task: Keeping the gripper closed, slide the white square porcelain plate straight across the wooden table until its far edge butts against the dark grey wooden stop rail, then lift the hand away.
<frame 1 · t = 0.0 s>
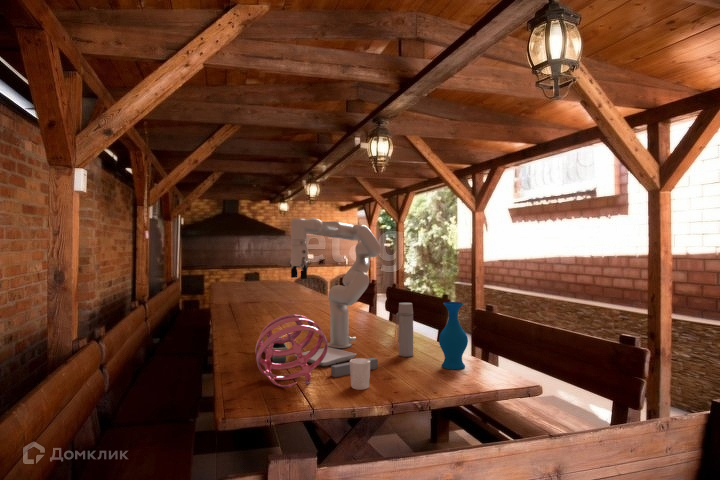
hand: (298, 278, 232), 37 cm above the table, tool pointing down, fingers open, 9 cm apart
spiral basket: (291, 382, 185), on the table
salad plate: (325, 361, 218), on the table
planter: (276, 357, 225), on the table
white cup: (360, 387, 179), on the table
water bottle: (404, 355, 226), on the table
vase: (453, 367, 206), on the table
stop rail: (354, 371, 199), on the table
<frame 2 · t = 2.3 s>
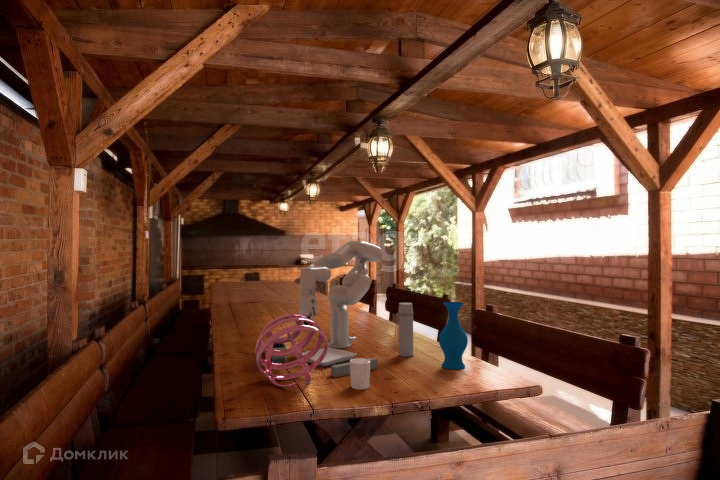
hand: (307, 329, 230), 12 cm above the table, tool pointing down, fingers closed
nothing on the table moved.
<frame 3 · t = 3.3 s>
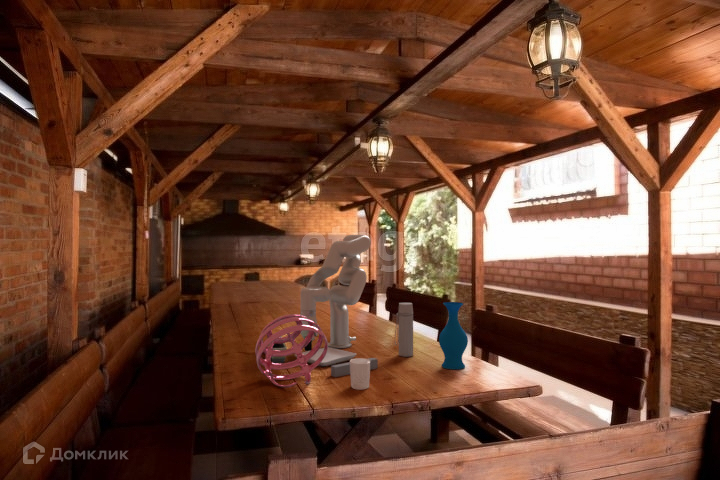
hand: (308, 350, 231), 1 cm above the table, tool pointing down, fingers closed
nothing on the table moved.
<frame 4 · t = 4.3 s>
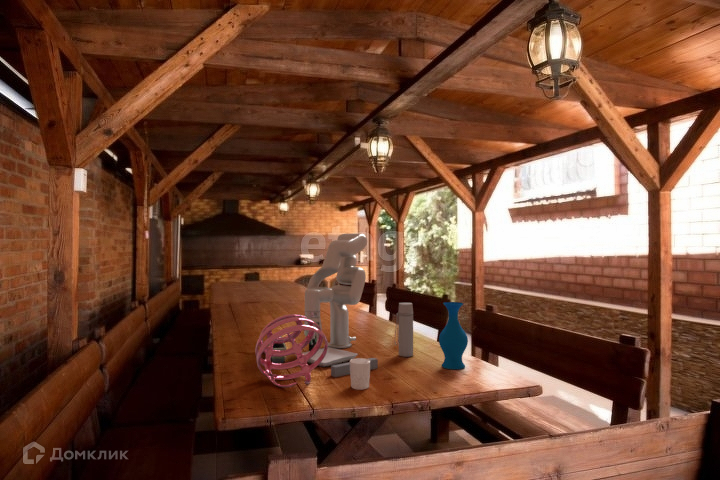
hand: (312, 352, 227), 1 cm above the table, tool pointing down, fingers closed
salad plate: (326, 361, 217), on the table, touching gripper
everything else where it was.
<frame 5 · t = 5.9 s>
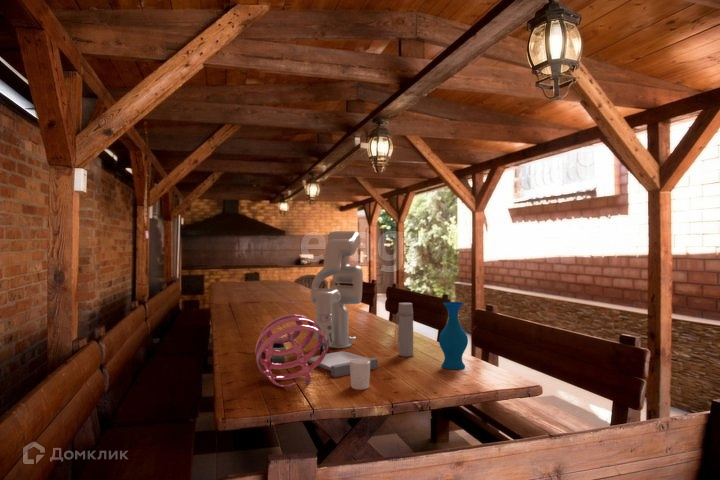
hand: (323, 356, 219), 1 cm above the table, tool pointing down, fingers closed
salad plate: (338, 366, 209), on the table, touching gripper, stop rail
everything else where it was.
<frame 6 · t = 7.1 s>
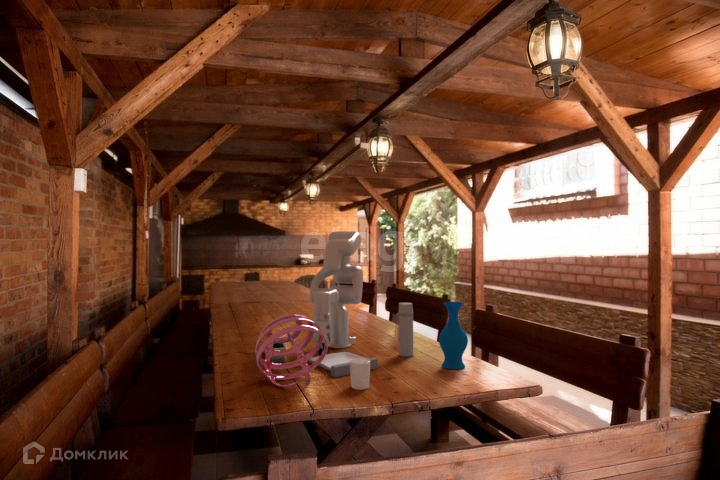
hand: (322, 356, 221), 1 cm above the table, tool pointing down, fingers closed
salad plate: (339, 366, 209), on the table
everything else where it was.
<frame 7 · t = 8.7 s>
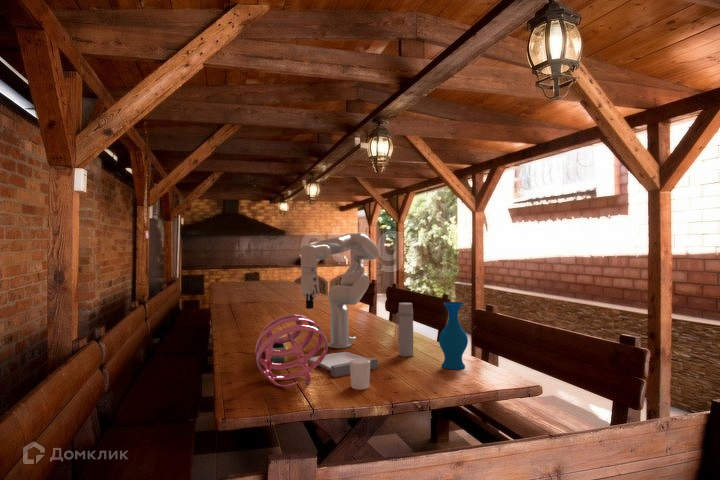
hand: (309, 308, 228), 23 cm above the table, tool pointing down, fingers closed
nothing on the table moved.
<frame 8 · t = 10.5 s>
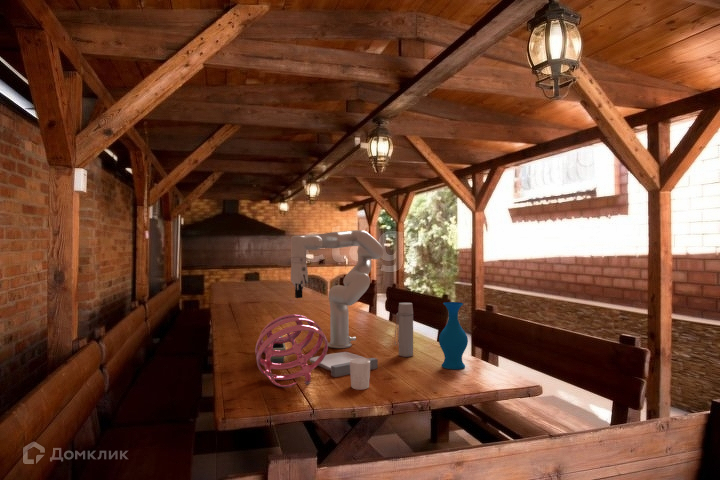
hand: (298, 297, 232), 27 cm above the table, tool pointing down, fingers closed
nothing on the table moved.
at the end: salad plate inside the target area (0.3 cm from its centre), on the table; salad plate moved 11.5 cm from its start; salad plate tilted 0° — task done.
